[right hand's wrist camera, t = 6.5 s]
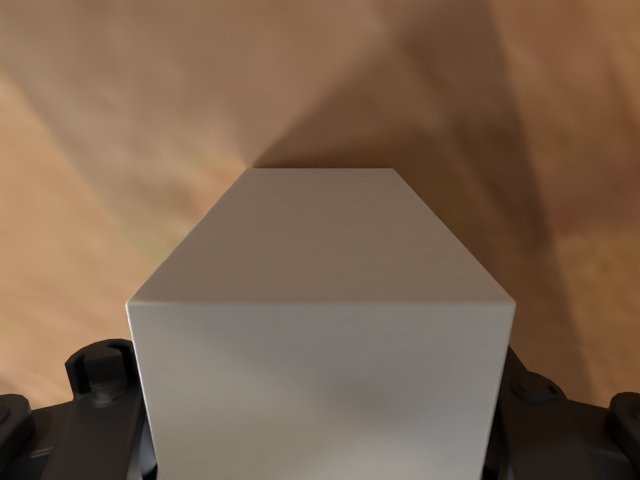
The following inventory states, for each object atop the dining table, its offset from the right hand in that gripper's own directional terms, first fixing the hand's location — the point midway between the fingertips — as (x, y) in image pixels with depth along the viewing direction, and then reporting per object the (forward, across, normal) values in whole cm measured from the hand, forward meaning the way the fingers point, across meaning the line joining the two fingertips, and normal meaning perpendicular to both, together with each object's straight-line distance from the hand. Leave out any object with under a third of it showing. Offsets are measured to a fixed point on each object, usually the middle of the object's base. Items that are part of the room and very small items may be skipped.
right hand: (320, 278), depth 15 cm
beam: (0, 0, +12) cm, 12 cm away
